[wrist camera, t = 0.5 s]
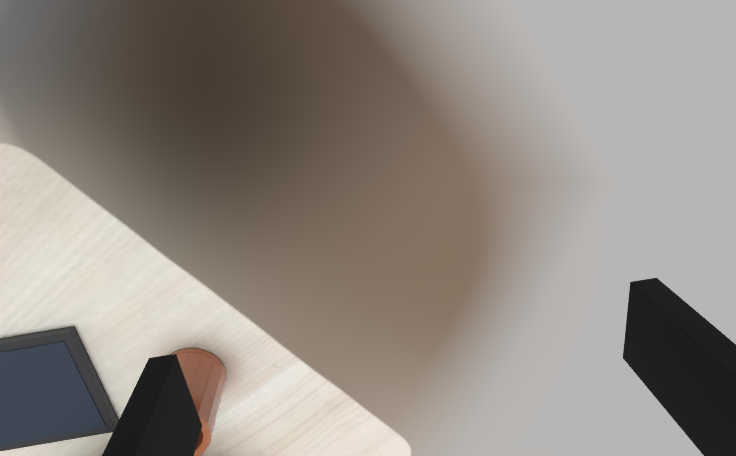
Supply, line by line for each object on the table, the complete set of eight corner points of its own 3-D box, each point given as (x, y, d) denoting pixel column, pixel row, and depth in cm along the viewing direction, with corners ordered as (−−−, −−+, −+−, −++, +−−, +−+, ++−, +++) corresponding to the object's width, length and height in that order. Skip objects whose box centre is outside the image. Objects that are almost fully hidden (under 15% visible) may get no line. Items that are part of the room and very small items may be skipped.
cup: (152, 354, 44) (123, 414, 37) (216, 343, 44) (198, 401, 38) (172, 402, 46) (148, 467, 40) (233, 392, 46) (218, 455, 40)
